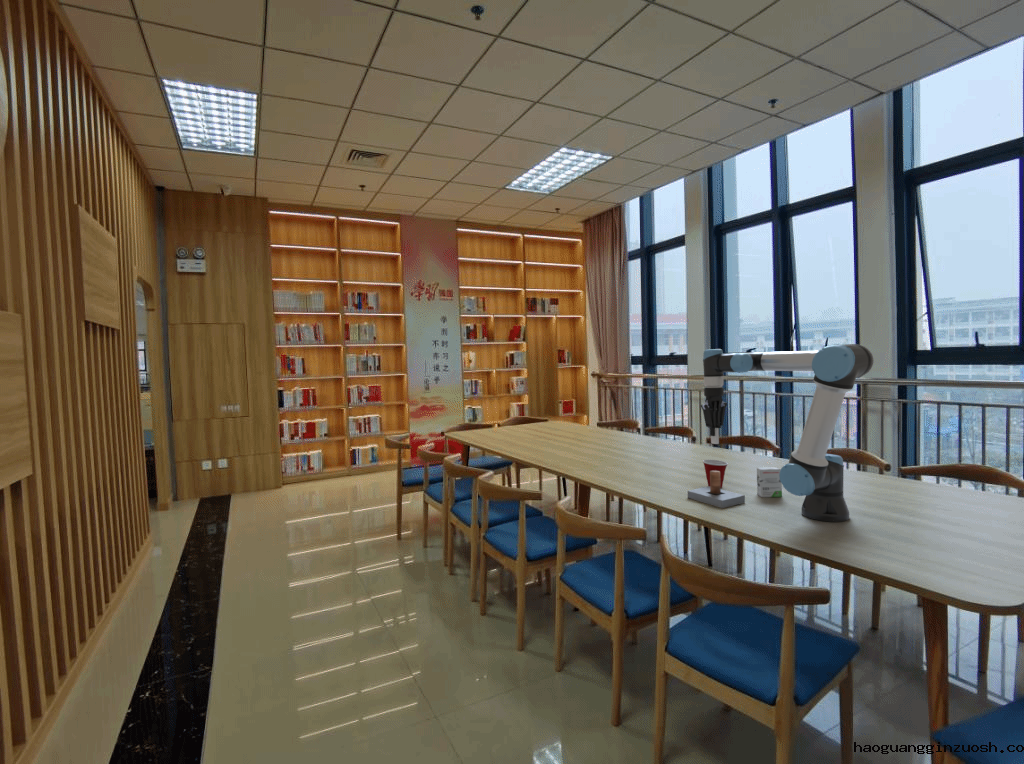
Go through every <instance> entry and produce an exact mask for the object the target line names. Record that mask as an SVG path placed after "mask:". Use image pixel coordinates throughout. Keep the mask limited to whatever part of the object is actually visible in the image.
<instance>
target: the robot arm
mask: <svg viewBox="0 0 1024 764" xmlns="http://www.w3.org/2000/svg"><path fill="white" fill-rule="evenodd" d="M702 356H703V358H702V364H703V386H705V387H704V388H703V395H704V397H705V399H704V401H705V402H704V403H703V404H701V405H700V407H701V409H702V413H703V414H702V415H703V418H704V423H705V427H707V428H708V429H709V433H710V434H709V435H710V443H711V444H713V445H719V444H720V437H719V436H720V429H722V427H723V426H724V421H725V420H724V419H725V414H726V408H727V406H728V403H727V402H725V401H724V400H723V396H725V395H724V387H723V386H724V373H737V374H740V373H741V374H742V373H748V372H770V371H771V372H813V375H814V376H813V380H812V381H813V383H814V384H815V385H816V388H815V390H814V394H813V397H812V400H811V404H810V407H809V410H808V415H807V417H806V420H805V425H804V427H803V431H802V434H801V438H800V441H799V444H798V447H797V449H795V450H794V451H792V452H791V454H790V457H789V461H788V463H785V464H784V465H783V466H781V470H780V473H779V477H780V481H781V483H782V487H783V488H784V489H785V490H786V491H787V492H788V493H789V494H791V495H795V496H796V497H797V496H798V497H804V496H805V497H804V499H803V502H802V505H801V514H802V515H803V516H804V517H806V518H809V519H812V520H815V521H822V522H831V523H832V522H833V523H834V522H835V523H837V522H838V523H839V522H845V521H848V520H849V519H850V511H849V508H848V504H847V502H846V499H845V496H844V468H845V465H844V459H843V457H842V456H841V455H838V454H832V453H828V449H829V446H830V442H831V439H832V437H833V433H834V430H835V427H836V424H837V421H838V418H839V415H840V411H841V408H842V405H843V402H844V399H845V397H846V393H848V392H849V391H852V390H853V389H854V386H855V383H856V380H857V379H858V378H862V377H863V376H865V375H867V374H868V373H870V371H871V370H872V368H873V366H874V356H873V353H872V352H871V350H869V348H867V347H866V346H863V345H861V344H859V343H858V344H857V343H851V344H850V343H847V344H839V343H837V344H830V345H828V346H825V347H823V348H822V347H821V348H820V349H819V350H796V351H795V350H792V351H753V352H737V353H733V352H732V353H724V351H723V349H721V348H715V349H714V348H713V349H712V348H711V349H704V350H703V355H702Z"/></svg>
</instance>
